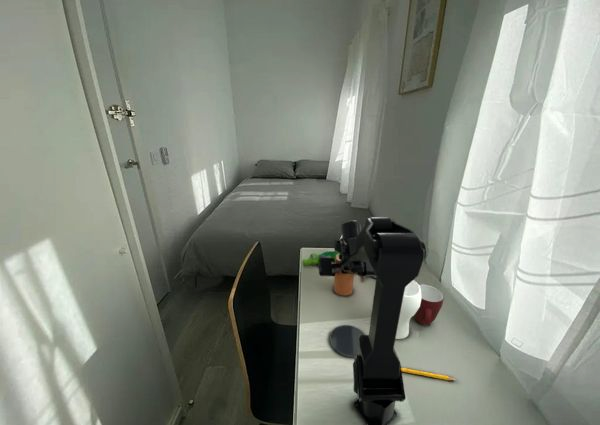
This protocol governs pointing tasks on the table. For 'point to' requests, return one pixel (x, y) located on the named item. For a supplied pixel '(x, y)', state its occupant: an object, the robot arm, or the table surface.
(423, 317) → the mug
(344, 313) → the table surface
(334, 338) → the charcoal plate
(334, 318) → the table surface
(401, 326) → the cup
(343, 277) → the copper pot
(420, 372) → the pencil
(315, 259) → the toy
